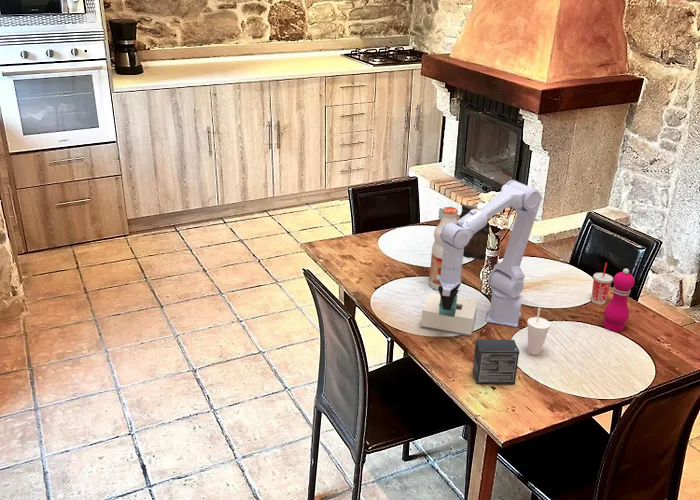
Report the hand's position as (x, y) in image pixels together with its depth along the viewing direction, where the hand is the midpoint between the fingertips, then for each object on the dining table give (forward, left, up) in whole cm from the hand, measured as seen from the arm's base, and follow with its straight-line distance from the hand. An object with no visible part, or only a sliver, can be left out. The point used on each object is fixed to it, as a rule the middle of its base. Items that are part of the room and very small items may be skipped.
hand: (447, 306), depth 197 cm
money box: (0, -9, -10) cm, 14 cm away
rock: (-2, -64, -11) cm, 65 cm away
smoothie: (-26, -1, -11) cm, 28 cm away
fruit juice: (+6, -33, -11) cm, 35 cm away
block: (0, 0, -2) cm, 2 cm away
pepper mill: (-49, -24, -11) cm, 56 cm away
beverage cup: (-45, -40, -11) cm, 61 cm away
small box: (-16, +16, -11) cm, 25 cm away
